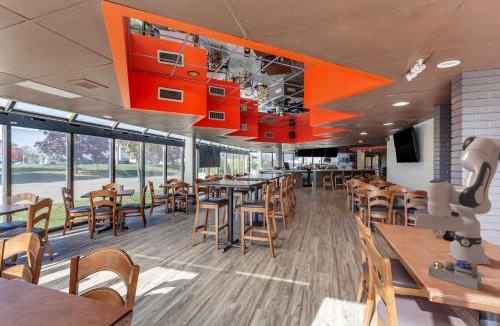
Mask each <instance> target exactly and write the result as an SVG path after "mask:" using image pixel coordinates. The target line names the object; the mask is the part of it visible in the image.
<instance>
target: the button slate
mask: <svg viewBox="0 0 500 326" xmlns="http://www.w3.org/2000/svg"><path fill="white" fill-rule="evenodd" d="M445 264H446V269H448V270H451V271H454V266H455V263H454V262H452V261H446V262H445Z"/></svg>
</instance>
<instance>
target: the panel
mask: <svg viewBox="0 0 500 326" xmlns="http://www.w3.org/2000/svg"><path fill="white" fill-rule="evenodd" d="M435 262H436V261H433V262H432V263H431V264H429V266H428V276H430V277H433V278H435V279H439V280H442V281H446V282H449V283H453V284H456V285H458V286H463V287H466V288H469V289H473V290H475V291H478V289H479V288H480V286H481V284H482V273H481V272H478V275H477V276H472V271H470V270H466V269H462V268H458V267H454V271H451V270H448V269H446V263H442V264H443V268H440V267H436V266H435Z"/></svg>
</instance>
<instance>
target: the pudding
mask: <svg viewBox="0 0 500 326" xmlns="http://www.w3.org/2000/svg"><path fill="white" fill-rule="evenodd" d="M454 267H458V268H462V269H466V270H470V271H472V263H469V262H467V261H464V260H456V261H455V263H454Z"/></svg>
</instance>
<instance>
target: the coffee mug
mask: <svg viewBox="0 0 500 326" xmlns="http://www.w3.org/2000/svg"><path fill="white" fill-rule="evenodd" d="M436 233H438V235H441V233H440V232H439V230H436ZM454 234H455V231H446V233H445V234H444V236H443V239H442V240H443V241H446V242H453V241H454V240H455V239H454Z"/></svg>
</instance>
